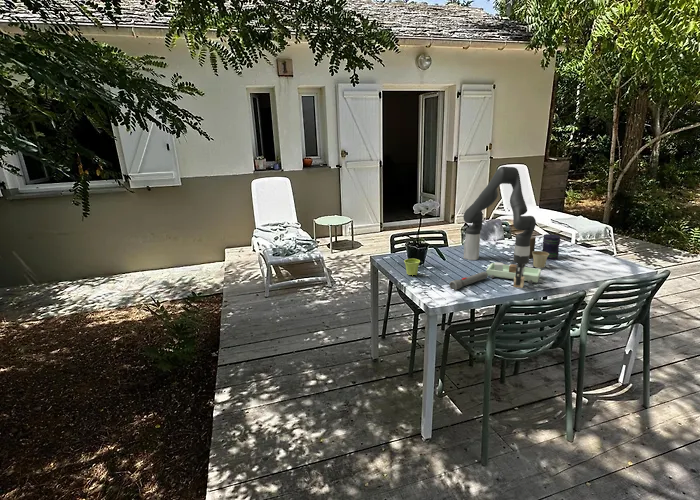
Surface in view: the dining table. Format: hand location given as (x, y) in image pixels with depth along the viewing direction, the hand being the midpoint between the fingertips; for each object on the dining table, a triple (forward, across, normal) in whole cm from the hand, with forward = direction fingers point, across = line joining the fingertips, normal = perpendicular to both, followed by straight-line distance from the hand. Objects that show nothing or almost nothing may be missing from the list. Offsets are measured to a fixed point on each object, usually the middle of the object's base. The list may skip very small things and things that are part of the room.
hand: (519, 282), depth 206 cm
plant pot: (+2, +8, -58) cm, 59 cm away
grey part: (0, -14, -13) cm, 19 cm away
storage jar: (+2, -62, +10) cm, 63 cm away
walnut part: (0, -14, -5) cm, 15 cm away
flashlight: (+3, +8, -24) cm, 26 cm away
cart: (+2, -14, -5) cm, 15 cm away
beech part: (+2, 0, 0) cm, 2 cm away
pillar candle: (+2, -59, -4) cm, 59 cm away
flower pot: (+2, -40, +6) cm, 41 cm away
